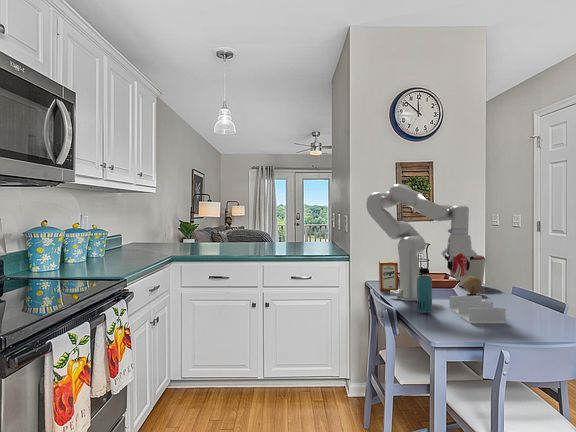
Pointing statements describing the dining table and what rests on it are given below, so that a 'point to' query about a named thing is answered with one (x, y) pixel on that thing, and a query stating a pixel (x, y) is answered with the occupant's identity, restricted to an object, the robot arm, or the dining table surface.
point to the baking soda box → (388, 275)
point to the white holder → (476, 309)
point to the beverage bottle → (424, 291)
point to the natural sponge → (472, 284)
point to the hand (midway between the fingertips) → (458, 269)
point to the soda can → (459, 266)
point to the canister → (475, 269)
